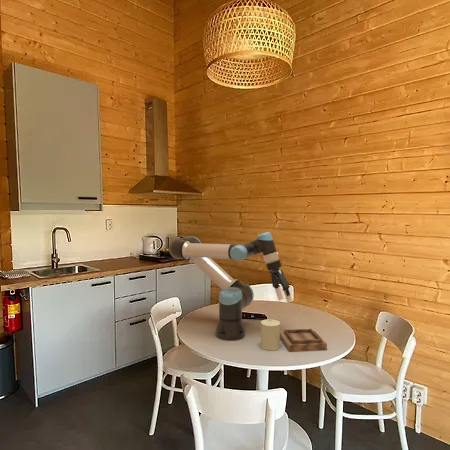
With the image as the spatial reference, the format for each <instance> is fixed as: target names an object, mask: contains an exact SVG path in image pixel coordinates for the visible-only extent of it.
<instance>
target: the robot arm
mask: <svg viewBox="0 0 450 450" xmlns="http://www.w3.org/2000/svg"><path fill="white" fill-rule="evenodd" d="M256 237H257V238H256V239H254V240H252V241H248V242H245V243H240V244H229V243H228V244H227V243H225V244H224V243H202V242H201V240H200V239H199V238H197V237H195V236H191V235H189V236H184V237H179V238H178V237H177V238H175V239H173V240H172V241H171V242H170V244H169V246H168V252H169V254H170V256H171V257H172V258H173V259H177V260H186V261H188V263H190V264H194V265H195V266H197V268H199V269H200V270H201V271H202V272H203V273H204V274H205V275H206V276H207V277H208V278H209V279H210V280H211V281H212V282H213V283H214V284H216V286H218V287H219V289H221V290H220V291H219V297H218V303H219V304H218V309H219V310H218V311H219V312H218V317H219V318H218V323H217V325H216V328H215V337H217V338H218V339H221V340H223V341H224V340H225V341H237V340H241V339H243V338H244V337H246V329H245V326H244V325H245V324H244V323H243V319H242V318H243V310H244V309H245V308H247V307H248V306H249V305H250V304H251V303H252V302H253V301H254V297H255V296H254V290H253V288H252V287H251V286H250V285H248V284H247V283H242V282H241V281H240V280H239V279H236V278H235V279H234V278H233V277H232V276H231V275H229V274H228V273H227V272H226V270H224V269H223V268H222V267H221V265H219V264H218V263H217V262H215V261H214V260H213V259H221V260H222V259H223V260H224V259H225V260H234V261H235V262H238V261H243V260H245V259H247V258H249V257H250V258H251V257H252V256H256V255H258V254H262V257H263V260H264V263H265V264H266V268H267V271H269V273H270V278H271V284H272V287H273V288H274V290H275V294H276V296H277V300H278V301H279V302H280V301H282V300H284V297H285V300H286V303H288V304H289V303H292V302H293V298H292V294H291V292H290V287H291V285H290V284H289V282H288V280H287V278H286V276H285V273H284V272H283V269H280V268H282V262H281V259H280V256H279V252H278V251H277V248H276V245H275V241H274V238H273V236H272V233H271V232H269V231H267V232H263V233H260V234H257V235H256ZM281 287H282V290H281ZM282 291H283V292H282ZM283 294H284V296H283Z"/></svg>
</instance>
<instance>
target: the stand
mask: <svg viewBox="0 0 450 450" xmlns="http://www.w3.org/2000/svg"><path fill="white" fill-rule="evenodd" d="M280 342H282V344H283V345H284V347H285V348H286V350H287V351H288V352H289V353H290V352H291V353H292V352H308V351H309V352H313V351H327V350H328V344H327V342H326V341H325V340H324V339H323V338H322V336H320V335H319V334H318V333H317V332H316V331H315V330H313V329H312V328H298V329H296V328H295V329H283V331H280Z"/></svg>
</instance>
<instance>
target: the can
mask: <svg viewBox="0 0 450 450" xmlns="http://www.w3.org/2000/svg"><path fill="white" fill-rule="evenodd" d="M280 332H281V322H280V321H279V320H276V319H273V318H272V319H271V318H270V319H269V318H268V319H263V320H261V321H260V348H261V349H264V350H266V351H276V350H279V349H280V348H281V343H280V342H281V339H280Z"/></svg>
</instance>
